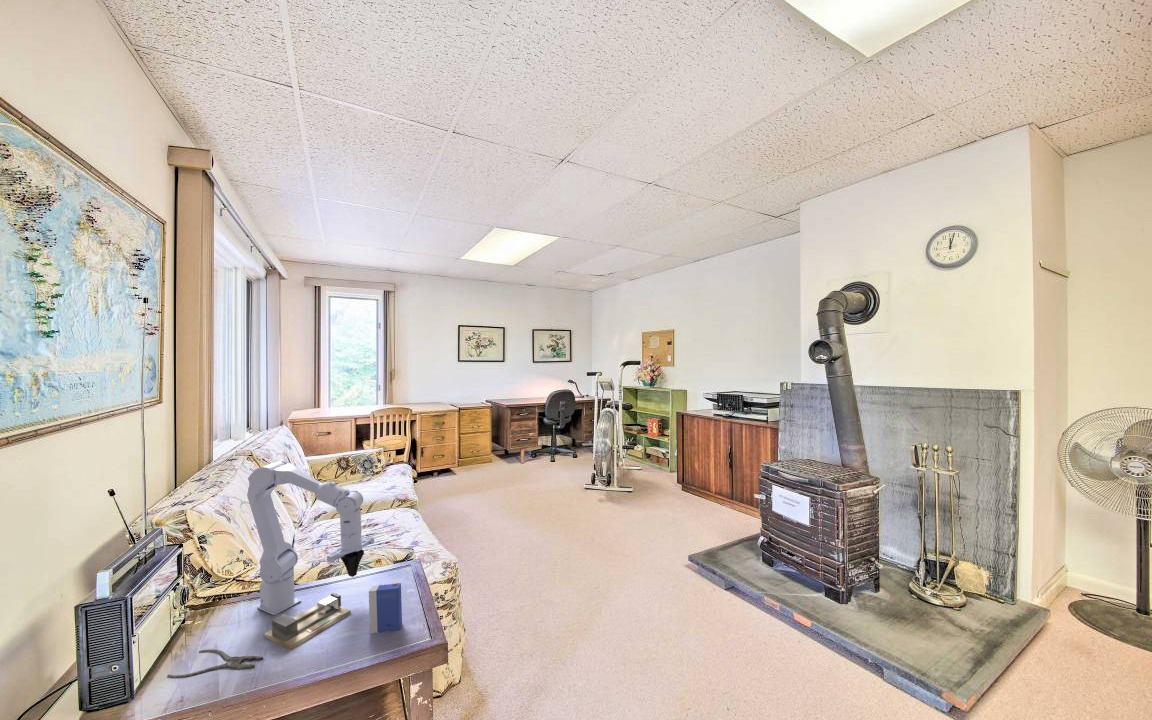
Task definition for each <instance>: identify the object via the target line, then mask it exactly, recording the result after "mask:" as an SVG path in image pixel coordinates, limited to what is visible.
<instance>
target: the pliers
mask: <svg viewBox="0 0 1152 720" xmlns="http://www.w3.org/2000/svg"><path fill="white" fill-rule="evenodd" d="M198 653H199V654H200V653H201V654H202V653H203V654H204V653H214V654H218V655H219V656H220V657H221V658H222V659H223V660H224V661H226V662H225V663H222V664H218V665H214V666H211V667H208V668H205V669H201V670H198V671H193V672H190V673H185V674H184V673H183V674H171V673H169V674H167V675H166V677H167V678H171V679H183V678H191V677H194V676H198V675H202V674H204V673H208V672H212V671H216V670H221V669H223V670H224V669H231V670H238V671H239V670H240V669H241V670H246V669H247V670H248V669H253V668H255V667H256V664H253V663H248V664H247V663H246V662H245V661H248V662H252V661H262V660H264V656H257V655H243V656H231V655H229V654H227V653H226V652H224V651H223V650H220V649H213V648H212V649H209V648H208V649H202V650H201V649H200V650H198ZM241 670H240V671H241Z"/></svg>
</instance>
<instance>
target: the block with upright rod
mask: <svg viewBox="0 0 1152 720" xmlns="http://www.w3.org/2000/svg"><path fill="white" fill-rule="evenodd" d="M341 599H342V596H341V594H338V593H335V592H332V593H330V595H329V596H327V597H324V598H322V599H321V600H319V601H318V602H316V603H317V604H316V605H318V612H319V613H322V614H324V615H325V614H327V613H328V612H330V611H332V610H334V609H336V610H339V608H338V607H340V606H341V607H342V600H341Z"/></svg>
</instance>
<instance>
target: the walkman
mask: <svg viewBox="0 0 1152 720" xmlns="http://www.w3.org/2000/svg"><path fill="white" fill-rule="evenodd" d="M402 605H403V603H402V583H401V582H399V583H398V582H392V583H391V584H380V585H372V586H371V588H369V590H368V608H369V609H368V610H369V611H368V612H369V613H368V615H369V634H378V633H385V632H393V631H400V630H401V627H402V626H403V613H402V612H403V611H402V610H403V608H402Z"/></svg>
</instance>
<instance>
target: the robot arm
mask: <svg viewBox="0 0 1152 720" xmlns="http://www.w3.org/2000/svg"><path fill="white" fill-rule="evenodd" d="M247 480H248V482H249V483H248V484H249V485H248V487H247V488H248V490H247V493H246V495H247V500H248V503H249V507H250V509H251V514H252V517H253V520H254V523H255V527H256V529H257V533H258V536H259V540H260V543H261V546H262V550H263V552H262V554H261V557H260V558H259V564H260V565H259V567H260V568H259V577H260V579H261V582H260V585H259V603H260V604H258V605H257V606H256V608H257V609H259V610H261V611H263V612H266V613H268V614H269V615H272V616H275V615H277V614H279V613H281V612H283V611H285V610H287V609H289V608H291V607H294V606H296V605H298V604H299V603H300V602H302V599H300V598H297V597H295V566H296V565H297V563H298V562H299V561H298V560H299V556H298V552H297V551H296V550H294V548H293V547H292V543H290V542H286V541H285V538H284V535H283V532H282V528H281V524H280V522H279V518H278V516H277V515H278V514H277V512H276V511H277V510H276V507H275V504H274V501H273V498H272V493H273V492H274V490H275V488H276V487H277V486H279V485H280V486H281V485H284V484H285V485H286V484H291V485H294V486H296V487H298V488H301V489H304V490H306V491H309V492H311V493H313V494H314V495H315V498H316V500H318V501H320V502H323V503H324V504H327V505H329V506H331V507H333V508H335V510H336V512H337V513H338V515H339V516H340V518H339V519H340V520H339V523H340V524H339V525H340V547H339V548H337V549H335V550H334V551H333V552H331V553H329V554H328V555H327V556H326V561H327V563H329V564H332V563H335V561H337V560H338V559H340V560H341V562H342V563H343V564H344V566H345V568H346V571H347V574H348V576H349V577H352V578H354V577H355V576H357V574H358V570H359V566H360V562H361V560H362V558H363V556H364V554H365V550H363V548H365V547H367V546H369V545H373V544H375V537H374V536H373V537H372V536H368V537H365V538H362V537H363V536H362V515H361V514H362V513H361V512H362V511H361V506H362V505H363V502H364V496H363V494H362V493H360V492H359V491H358V490H350V489H348V488H346V489H345V488H343V487H342V486H339V485H337V484H336V482H335V481H331V482H330V481H324V482H322V481H319V480H317V479H316V478H314V477H312V476H311V475H309V474H307V473H305V472H303V471H302V470H300V469H298V468H296V466H294V464H292V463H290V462H287V461H286V460H283V459H277V460H274V461H273V462H271V463H268V464H266V465H263V466H260V467H257V468H255V469H254V470H253V471H252V472H251V473H250V474H249V475H248V478H247Z"/></svg>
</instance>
